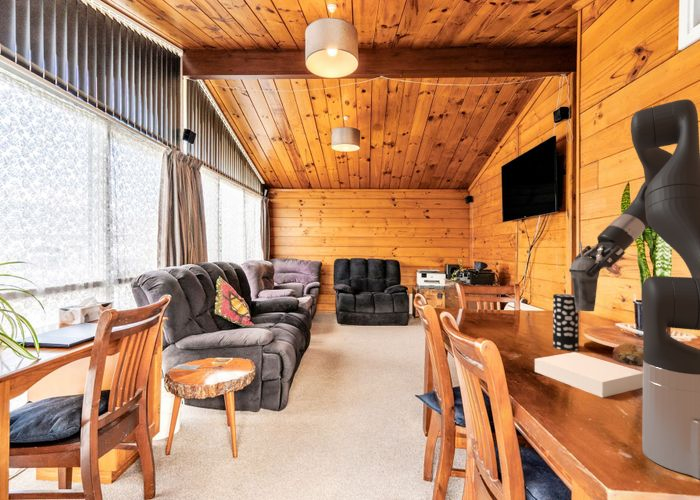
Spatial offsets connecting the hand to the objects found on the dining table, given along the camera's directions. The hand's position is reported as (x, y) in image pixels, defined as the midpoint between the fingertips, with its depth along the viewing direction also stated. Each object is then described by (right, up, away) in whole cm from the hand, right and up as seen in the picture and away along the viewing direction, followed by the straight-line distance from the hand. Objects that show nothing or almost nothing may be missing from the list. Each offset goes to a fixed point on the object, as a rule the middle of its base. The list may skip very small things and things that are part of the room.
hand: (579, 274), depth 101 cm
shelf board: (+2, -31, 0) cm, 31 cm away
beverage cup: (+2, -11, 0) cm, 11 cm away
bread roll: (+28, -31, +16) cm, 44 cm away
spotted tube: (+16, -31, +32) cm, 47 cm away
